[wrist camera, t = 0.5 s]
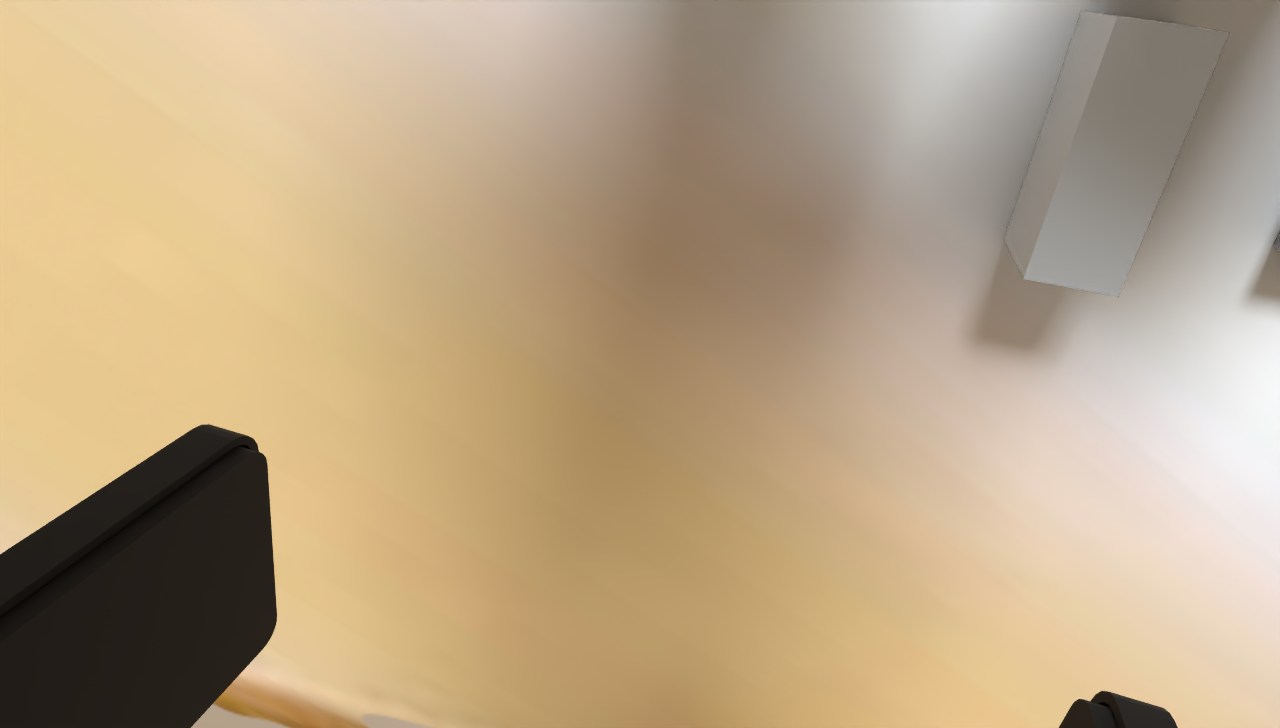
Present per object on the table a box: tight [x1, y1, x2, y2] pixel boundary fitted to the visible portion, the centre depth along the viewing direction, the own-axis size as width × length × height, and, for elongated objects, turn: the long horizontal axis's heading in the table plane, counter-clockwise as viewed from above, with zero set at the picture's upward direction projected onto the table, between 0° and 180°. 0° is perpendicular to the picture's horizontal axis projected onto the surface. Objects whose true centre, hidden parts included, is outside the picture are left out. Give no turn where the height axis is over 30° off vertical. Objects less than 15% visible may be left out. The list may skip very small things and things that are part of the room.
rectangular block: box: [1004, 11, 1230, 297], centre depth 32 cm, size 10×4×6 cm, turn 173°
